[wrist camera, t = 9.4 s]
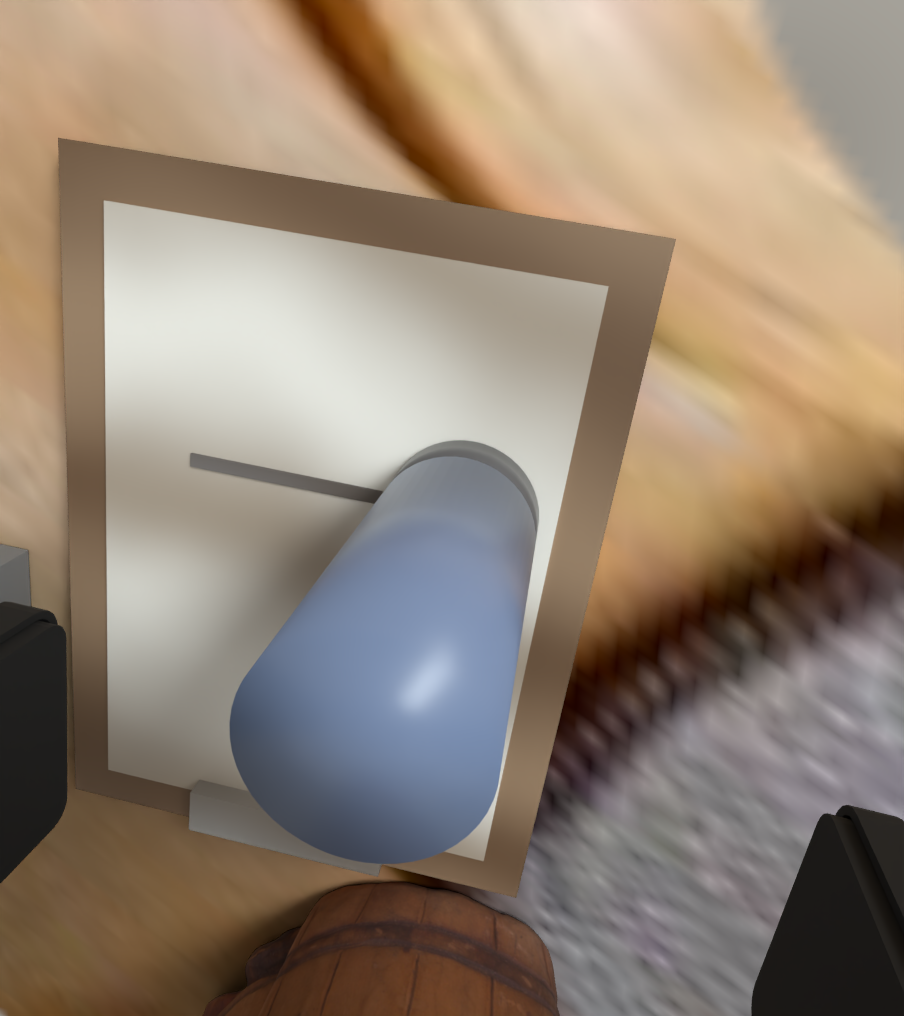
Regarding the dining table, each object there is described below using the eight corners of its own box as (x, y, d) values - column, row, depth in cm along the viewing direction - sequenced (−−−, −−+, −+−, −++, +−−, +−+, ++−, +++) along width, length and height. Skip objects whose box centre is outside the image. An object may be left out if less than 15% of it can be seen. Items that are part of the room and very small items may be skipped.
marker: (523, 597, 17) (475, 890, 9) (379, 566, 17) (223, 828, 10) (552, 456, 16) (524, 664, 8) (398, 427, 16) (236, 602, 9)
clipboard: (517, 879, 20) (514, 917, 19) (88, 774, 22) (61, 804, 20) (672, 238, 15) (679, 239, 14) (77, 140, 16) (38, 134, 15)
